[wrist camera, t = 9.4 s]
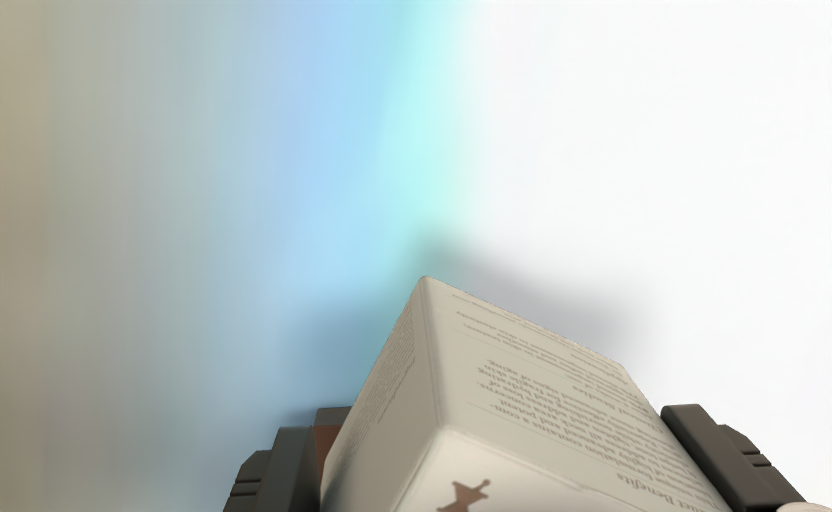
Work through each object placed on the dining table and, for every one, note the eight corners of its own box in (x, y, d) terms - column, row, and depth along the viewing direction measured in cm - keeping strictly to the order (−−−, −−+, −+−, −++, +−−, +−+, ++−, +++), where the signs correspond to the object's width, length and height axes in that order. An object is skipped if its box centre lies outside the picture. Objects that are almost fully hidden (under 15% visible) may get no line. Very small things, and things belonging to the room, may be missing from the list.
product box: (320, 457, 17) (264, 720, 10) (422, 264, 16) (438, 417, 9) (516, 540, 18) (588, 835, 11) (630, 365, 17) (795, 576, 10)
